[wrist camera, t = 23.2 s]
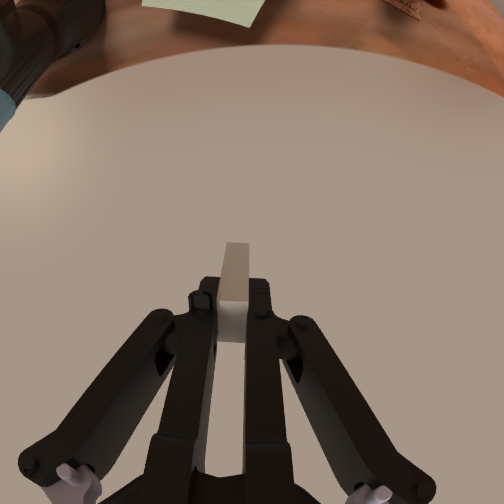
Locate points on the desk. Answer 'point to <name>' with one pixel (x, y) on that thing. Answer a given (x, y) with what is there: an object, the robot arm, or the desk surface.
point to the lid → (214, 8)
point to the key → (406, 8)
